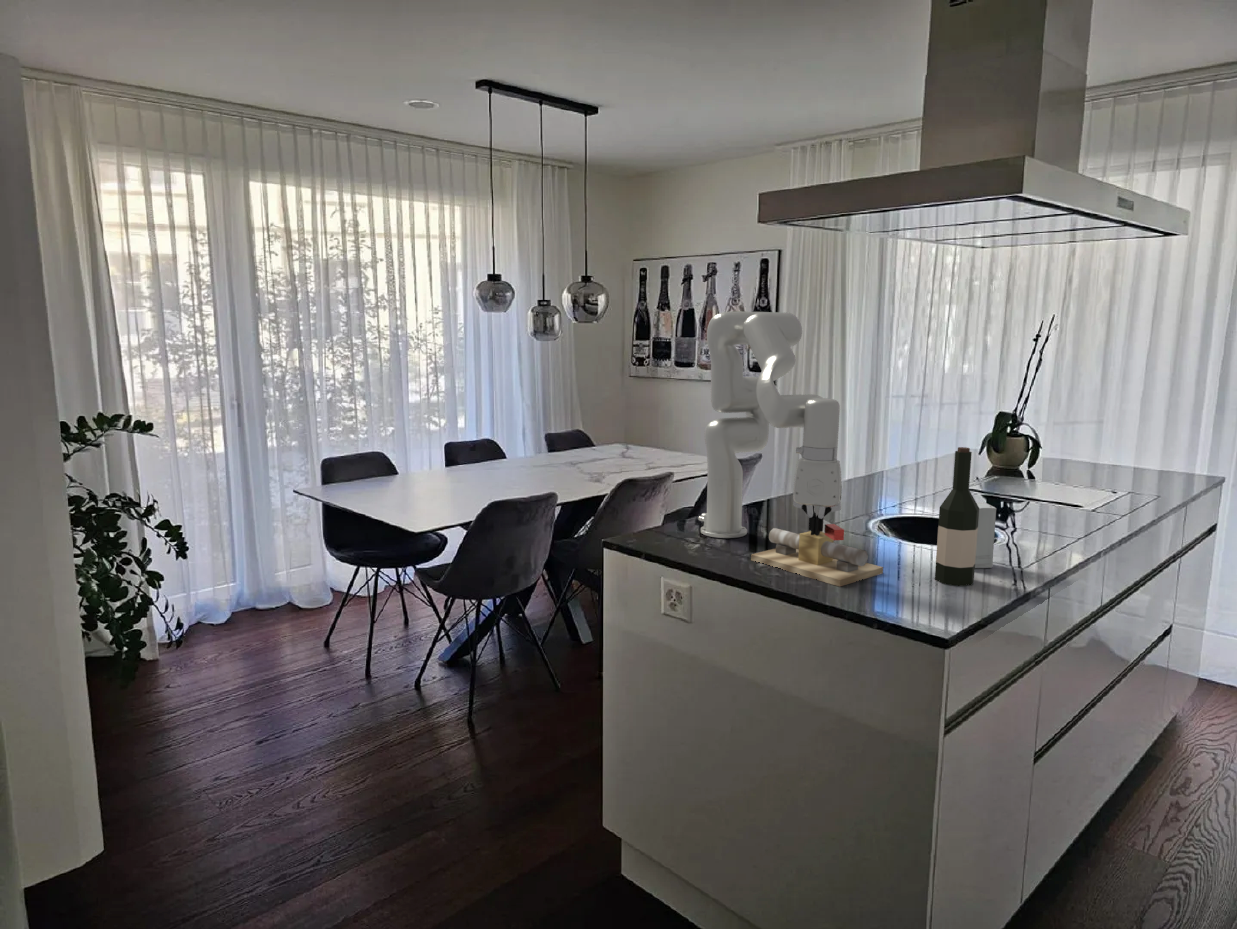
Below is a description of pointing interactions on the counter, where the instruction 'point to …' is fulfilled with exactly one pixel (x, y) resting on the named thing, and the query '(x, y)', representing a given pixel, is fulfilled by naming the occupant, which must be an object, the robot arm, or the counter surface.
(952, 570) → the wine bottle
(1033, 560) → the counter surface
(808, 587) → the counter surface
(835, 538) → the valve lever
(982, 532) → the skincare box
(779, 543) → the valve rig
